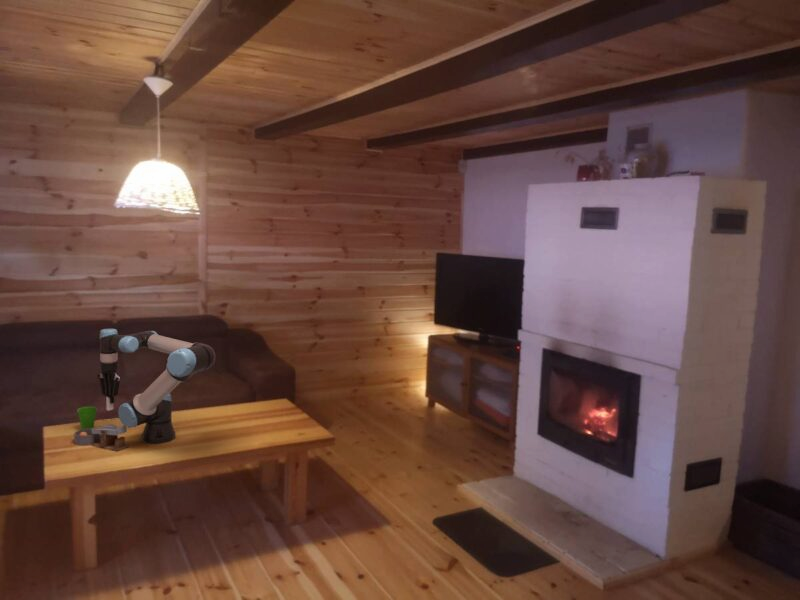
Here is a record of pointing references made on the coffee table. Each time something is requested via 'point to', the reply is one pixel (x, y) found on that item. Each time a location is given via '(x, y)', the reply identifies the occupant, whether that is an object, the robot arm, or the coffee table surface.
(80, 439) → the dish
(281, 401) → the coffee table surface
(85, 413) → the cup
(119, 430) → the grey slab
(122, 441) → the fulcrum
